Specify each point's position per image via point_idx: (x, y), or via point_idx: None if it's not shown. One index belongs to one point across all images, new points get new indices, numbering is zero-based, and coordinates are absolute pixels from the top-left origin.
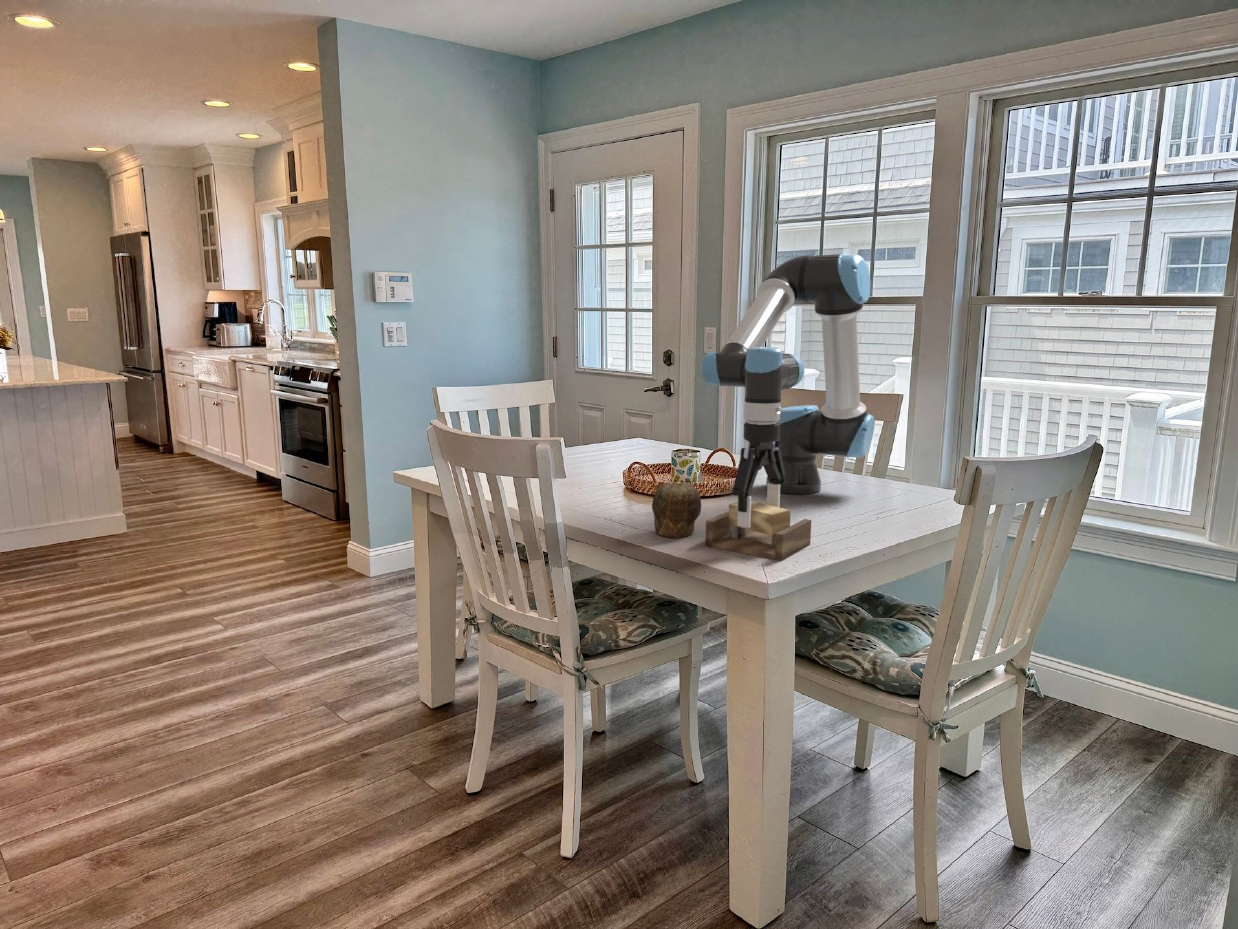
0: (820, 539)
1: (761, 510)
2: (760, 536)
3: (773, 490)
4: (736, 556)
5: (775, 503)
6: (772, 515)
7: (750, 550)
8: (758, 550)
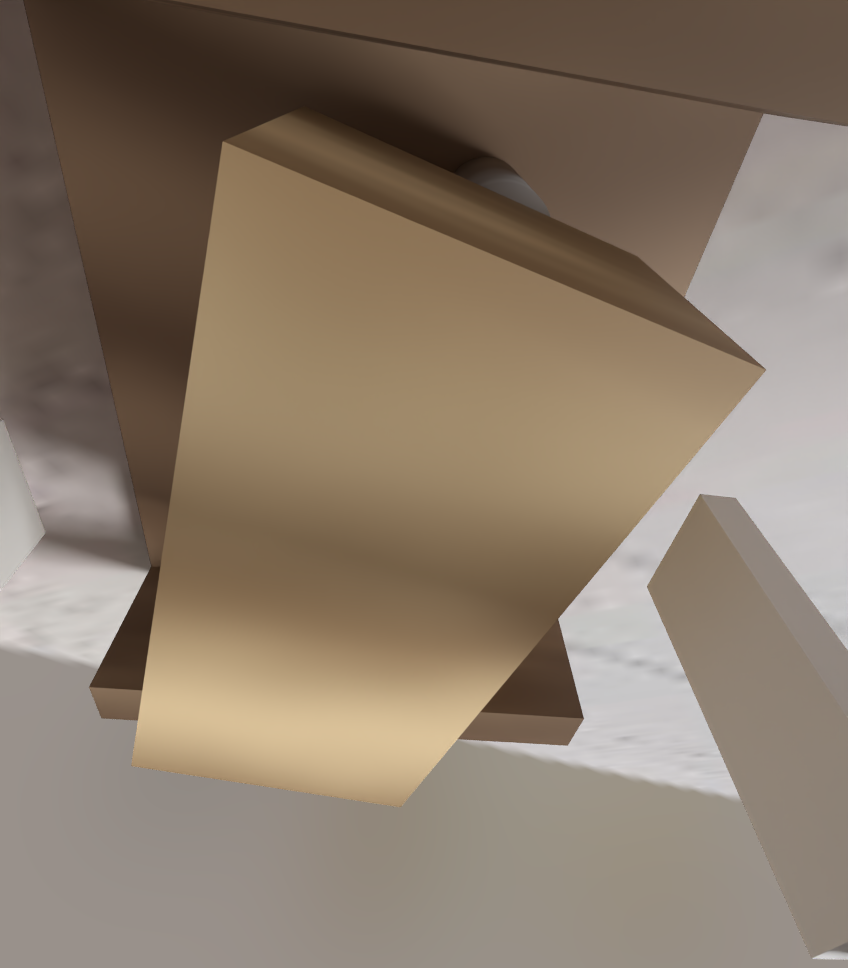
0: (658, 619)
1: (208, 679)
2: None
3: (807, 811)
4: (15, 336)
5: (701, 659)
6: (137, 758)
7: (121, 422)
8: (149, 472)
